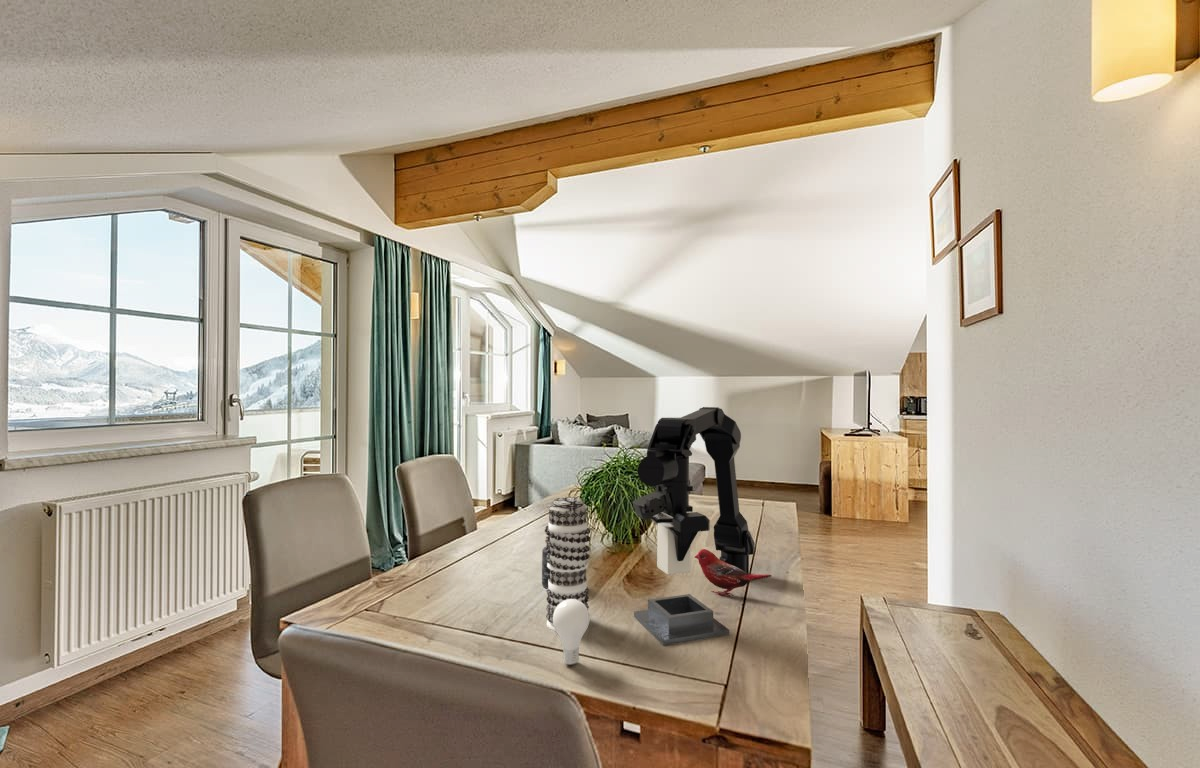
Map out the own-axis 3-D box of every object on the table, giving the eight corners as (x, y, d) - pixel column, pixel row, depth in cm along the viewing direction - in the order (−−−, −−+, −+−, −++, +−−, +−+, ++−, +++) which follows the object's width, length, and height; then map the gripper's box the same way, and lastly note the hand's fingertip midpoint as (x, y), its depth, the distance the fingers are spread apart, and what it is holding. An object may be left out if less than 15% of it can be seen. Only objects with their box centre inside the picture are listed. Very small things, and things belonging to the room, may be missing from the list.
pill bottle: (563, 590, 131) (563, 542, 131) (538, 588, 132) (538, 540, 132) (569, 582, 137) (569, 535, 137) (546, 580, 138) (546, 534, 138)
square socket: (693, 607, 121) (693, 589, 121) (729, 634, 108) (729, 614, 108) (633, 616, 116) (633, 597, 116) (663, 645, 103) (663, 624, 103)
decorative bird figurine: (695, 588, 133) (695, 546, 133) (773, 601, 125) (773, 556, 125) (692, 592, 130) (692, 549, 130) (770, 605, 122) (770, 559, 122)
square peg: (679, 564, 116) (679, 521, 116) (690, 572, 112) (690, 527, 112) (657, 567, 115) (657, 523, 115) (667, 574, 110) (668, 528, 110)
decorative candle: (573, 637, 106) (573, 506, 106) (535, 626, 111) (535, 500, 111) (599, 620, 114) (599, 497, 114) (562, 611, 119) (562, 493, 119)
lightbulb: (552, 655, 99) (552, 593, 99) (588, 654, 99) (588, 592, 100) (552, 674, 93) (552, 607, 93) (590, 672, 93) (590, 606, 93)
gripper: (621, 474, 120) (620, 547, 120) (657, 489, 102) (656, 575, 102) (668, 472, 123) (668, 543, 123) (711, 486, 106) (710, 569, 105)
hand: (674, 557), depth 113 cm, fingers closed on square peg, 5 cm apart
